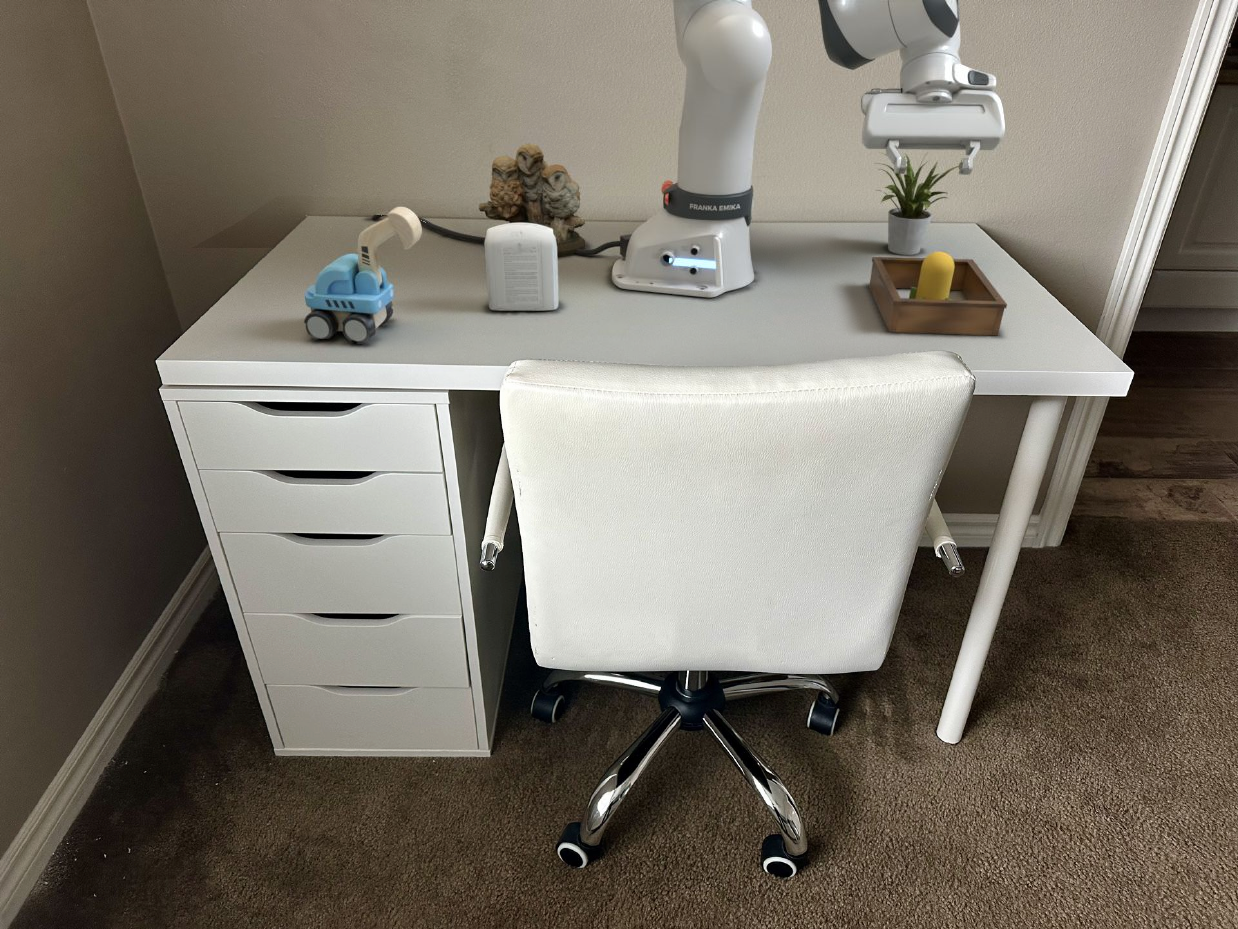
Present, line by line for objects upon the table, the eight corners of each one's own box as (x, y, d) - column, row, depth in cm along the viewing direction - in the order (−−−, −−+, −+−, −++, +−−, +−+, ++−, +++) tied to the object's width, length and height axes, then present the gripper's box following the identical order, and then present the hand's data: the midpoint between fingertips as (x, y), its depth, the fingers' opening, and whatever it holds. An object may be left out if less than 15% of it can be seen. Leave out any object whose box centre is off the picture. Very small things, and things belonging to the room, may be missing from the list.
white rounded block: (559, 301, 130) (556, 218, 124) (559, 312, 127) (555, 227, 120) (490, 302, 130) (483, 219, 123) (487, 313, 126) (480, 228, 120)
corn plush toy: (914, 315, 125) (926, 258, 121) (907, 301, 130) (918, 245, 125) (951, 316, 125) (964, 259, 121) (943, 303, 129) (955, 246, 125)
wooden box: (888, 332, 120) (893, 301, 118) (867, 285, 136) (872, 256, 133) (999, 336, 119) (1007, 304, 117) (966, 288, 134) (972, 259, 132)
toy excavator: (418, 349, 116) (400, 221, 107) (301, 340, 118) (274, 214, 109) (440, 324, 123) (426, 201, 114) (329, 316, 125) (306, 195, 116)
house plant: (837, 247, 151) (850, 149, 142) (882, 230, 159) (897, 136, 150) (909, 268, 142) (928, 165, 133) (954, 249, 150) (975, 150, 141)
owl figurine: (476, 257, 147) (467, 152, 137) (488, 235, 156) (479, 135, 147) (583, 259, 146) (581, 153, 137) (588, 236, 156) (586, 136, 147)
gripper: (865, 75, 130) (865, 159, 127) (1007, 76, 128) (1011, 161, 125) (856, 101, 136) (857, 182, 133) (992, 103, 134) (995, 184, 131)
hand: (933, 172), depth 129 cm, fingers open, 8 cm apart
